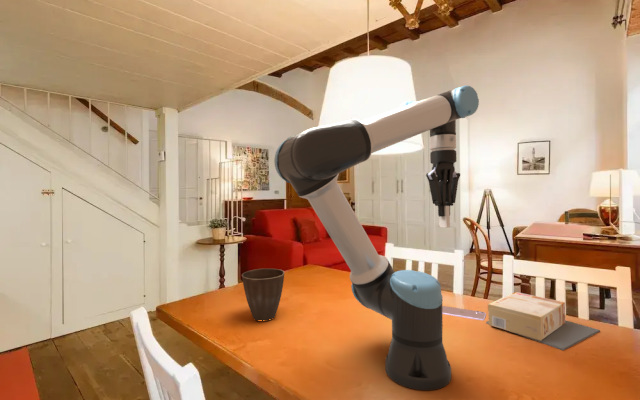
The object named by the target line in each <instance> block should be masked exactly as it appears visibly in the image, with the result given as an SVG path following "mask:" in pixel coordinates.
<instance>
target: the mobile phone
mask: <svg viewBox="0 0 640 400" xmlns="http://www.w3.org/2000/svg"><path fill="white" fill-rule="evenodd" d="M442 315H446V316H447V315H448V316H452V317H453V316H454V317H458V318H465V319H471V320H477V321H485V318H486V315H487V313H486V312H485V311H481V310H480V311H479V310H473V309H466V308H460V307H451V306H445V305H442Z"/></svg>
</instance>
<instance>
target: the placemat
mask: <svg viewBox="0 0 640 400" xmlns="http://www.w3.org/2000/svg"><path fill="white" fill-rule="evenodd" d="M486 324H487V325H489V320H487V321H486ZM600 330H601V329H598V328H594V327H591V326H587V325H583V324H580V323H576V322H574V321H570V320H566V319H565V324H563V325H562V326H560V327H559V328H558V329H556V330H555V331H553V332H552V333H551V334H549V335H548V336H547V337H545V338H544V339H542V340H541V341H540V340H537V339H533V338H530V337H527V336H524V335H520V334H517V333H514V332H510V331H508V332H510V333H513V334H514V335H515V334H516V335H518V336H521V337H524V338H527V339H529V340H531V341H532V340H533V341H535V342H538V343H541V344H544V345H547V346H550V347H553V348H554V349H558V350H561V351H564V350H565V351H566V350H567V349H569V348H571V347H573V346H575V345H577V344H579V343H581V342H583V341H585V340H586V339H588V338H590V337H592V336H595V335H596V334H598V333H600V332H601V331H600Z"/></svg>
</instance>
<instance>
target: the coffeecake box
mask: <svg viewBox="0 0 640 400" xmlns="http://www.w3.org/2000/svg"><path fill="white" fill-rule="evenodd" d="M565 303H566V302H565V301H560V300H555V299H551V298H547V297H541V296H537V295H532V294H527V293H523V292H517V291H514V292H512V293H510V294H508V295H505V296H503V297H501V298H499V299H497V300H495V301H493V302H490V303H487V307H488V308H487V309H488V311H487V312H488V321H489V324H488V325H489V326H492V327H495V328H498V329H502V330H505V331H507V332H509V331H510V333H512V332H514V333H513V334H515V333H517V334H516V335H518V334H520V335H519V336H521V335H524V336H527V337H530V338H533V339H537V340H540V341H541V340H542V339H544V338H545V337H547V336H548V335H549V334H551V333H552V332H553V331H555V330H556V329H558V328H559V327H560V326H562V325H563V324H565V320H566V304H565ZM524 336H523V337H524Z"/></svg>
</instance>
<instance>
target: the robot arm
mask: <svg viewBox="0 0 640 400" xmlns="http://www.w3.org/2000/svg"><path fill="white" fill-rule="evenodd" d="M479 100H480V99H479V95H478V93H477V91H476V90H475V88H474V87H473V86H471V85H462V86H458V87H457V86H456V87H455V88H452V89H451V90H448V91H444V92H442V93H439V94H436V95H433V96H430V97H427V98H425V99H421V100H418V101H415V100H414V101H413V100H411V101H408V100H407V101H405V102H402V103H401V104H400V105H399V107H398V108H394V109H391V110H389V111H386V112H382V113H380V114H377V115H374V116H371V117H369V118H364V119H363V120H360V119H357V118H351V119H348V120H347V119H346V120H344V121H340V122H336V123H332V124H330V123H329V124H326V125H320V126H314V127H311V128H308V129H306V130H303V131H302V132H299V133H297V134H294V135H292V136H289V137H287V138H286V139H285V140H284V141H283V142H281V144H280V145H279V146H278V148H277V149H276V151H275V154H274V161H273V162H274V167H275V170H276V173H277V175H278V176H279V177H280V178H281V179H282V180H283V181H285V182H286V183H289V184H290V185H291V186H292V188H293V189H294V191H295V193H296V194H297V196H298V197H299V198H302V199H306V200H308V202H309V204H310V206H311V207H312V209H313V210H314V213H315V214H316V216H317V217H318V219H319V220H320V222H321V223H322V226H323V227H324V229H325V230H326V232H327V234H328V235H329V237H330V239H331V240H332V242H333V243H334V245H335V247H336V248H337V249H338V252H339V253H340V255H341V257H342V258H343V260H344V262H345V263H346V265H347V266H348V268H349V270H350V272H349V279H350V282H351V285H350V286H351V291H352V295H353V297H354V298H355V299H356V300H357V302H358V303H360V304H361V305H362V306H363V307H365V308H367V309H369V310H371V311H373V312H376V313H377V314H380V315H382V316H383V317H385V318H387V319H389V320H391V340H390V344H389V348H388V353H387V354H386V357H385V364H384V365H385V372H386V374H387V376H388V377H389V379H391V380H392V382H395V383H397V384H398V385H400V386H402V387H405V388H409V389H414V390H416V391H417V390H418V391H434V390H439V389H442V388H444V387H446V386H447V385H448V384H449V383H450V382H451V381H452V367H451V364H450V361H449V360H448V357H447V353H446V349H445V347H444V343H443V342H444V341H443V314H442V306H443V293H442V285H441V283H440V282H439V280H438V279H437V278H436V277H434V276H432V275H431V274H428V273H426V272H423V271H415V270H414V269H412V270H411V269H400V270H397V271H395V270H394V267H392V265H391V263H390V261H389V260H388V258H387V256H385V255H381V254H379V253H378V252H377V250H376V248H375V246H374V245H373V243H372V241H371V239H370V237H369V236H368V234H367V232H366V231H365V228H364V227H363V225H362V224H361V221H360V220H359V218H358V216H357V215H356V213H355V211H354V210H353V208H352V206H351V205H350V203H349V201H348V199H347V197H346V196H345V194H344V192H343V190H342V188H341V187H340V185H339V184H338V178H339V174H341V173H343V172H345V171H346V170H349V169H350V168H353V167H354V166H357V165H359V164H361V163H364V162H366V161H369V159H370V158H371V155H372V154H374V153H376V152H379V151H381V150H384V149H386V148H388V147H390V146H393V145H395V144H398V143H400V142H403V141H406V140H407V139H410V138H413V137H415V136H418V135H420V134H423V133H425V132H428V131H429V150H430V151H431V152H430V155H429V156H430V160H429V161H430V164H432V167H431V171H430V172H427V173H426V174H425V176H426V178H427V181H428V184H429V189H430V190H429V191H430V195H431V201H432V204H433V205H434V206H435V207H436V206H437V211H438V212H437V214H438V223H439V226H438V227H439V228H450V227H451V223H450V221H451V220H450V219H451V217H450V216H451V206H452V207H453V206H454V204H455V203H456V199H457V193H458V186H459V185H458V184H459V180H460V177H461V173H459V172H457V171H456V170H455V164H454V163H457V151H456V150H455V149H456V148H457V132H456V130H457V128H456V126H457V125H456V124H457V122H456V120H460V119H465V118H466V117H469V116H472V115H474V114H475V113H476V112H477V111H478V108H479V105H480V101H479Z"/></svg>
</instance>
